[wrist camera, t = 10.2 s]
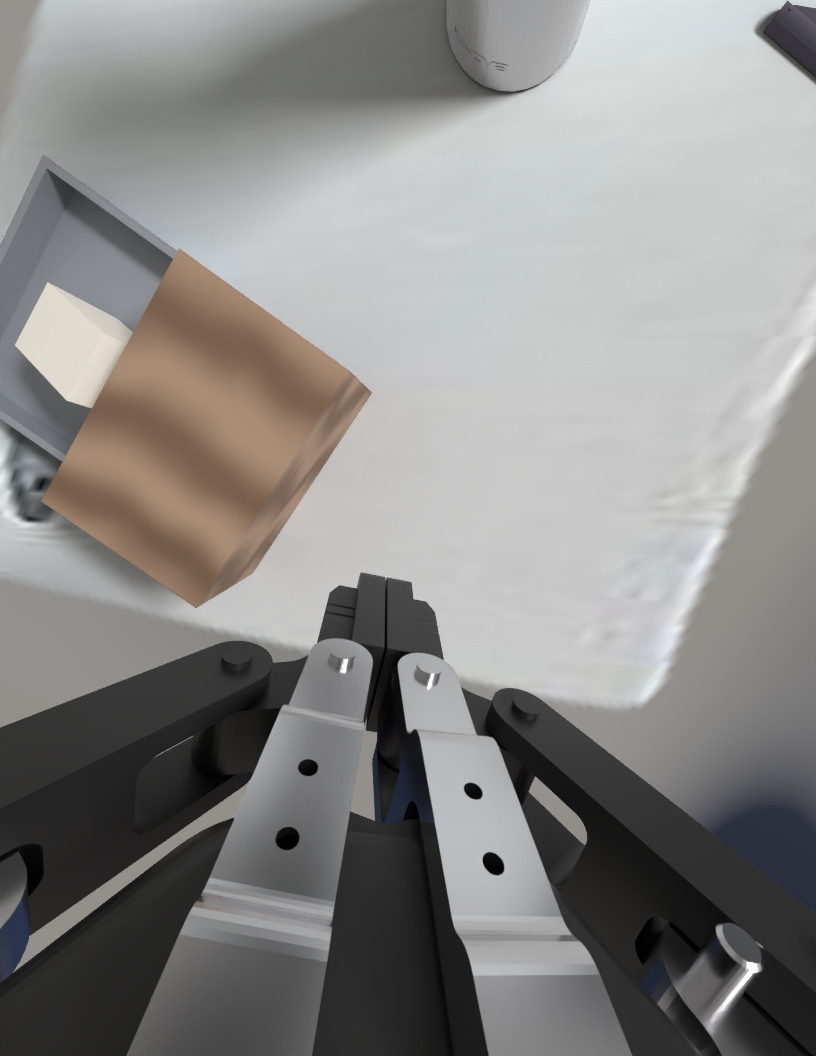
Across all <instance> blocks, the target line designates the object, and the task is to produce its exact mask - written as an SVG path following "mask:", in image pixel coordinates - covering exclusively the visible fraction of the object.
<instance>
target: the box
mask: <svg viewBox="0 0 816 1056" xmlns="http://www.w3.org/2000/svg"><path fill="white" fill-rule="evenodd" d="M176 253H177V251H176V250H175V249H173V248H172V247H171V246H169V245H168V244H166V243H165V242H164V241H162V240H161V239H160V238H158V237H157V236H155V235H154V234H153V233H151V232H150V231H148V230H147V229H146V228H144V227H143V226H141V225H140V224H139V223H137V222H136V221H134V220H133V219H132V218H130V217H129V216H128V215H126V214H125V213H123V212H122V211H121V210H119V209H118V208H116V207H115V206H114V205H112V204H111V203H109V202H108V201H107V200H105V199H104V198H102V197H101V196H100V195H98V194H97V193H96V192H94V191H93V190H91V189H90V188H89V187H87V186H86V185H84V184H83V183H82V182H80V181H79V180H77V179H76V178H75V177H73V176H72V175H70V174H69V173H68V172H66V171H65V170H64V169H62V168H61V167H59V166H58V165H57V164H55V163H54V162H52V161H51V160H50V159H48V158H47V157H45V156H44V155H43V156H42V159H41V161H40V163H39V165H38V167H37V169H36V171H35V173H34V175H33V178H32V180H31V182H30V184H29V186H28V188H27V190H26V192H25V194H24V197H23V199H22V201H21V203H20V205H19V207H18V209H17V211H16V213H15V216H14V218H13V220H12V222H11V224H10V226H9V228H8V230H7V232H6V235H5V237H4V239H3V241H2V243H1V245H0V419H1V420H3V421H4V422H6V423H7V424H9V425H10V426H11V427H13V428H14V429H16V430H17V431H19V432H20V433H22V434H23V435H24V436H26V437H27V438H29V439H30V440H32V441H33V442H34V443H36V444H37V445H39V446H40V447H42V448H43V449H45V450H46V451H47V452H49V453H50V454H52V455H53V456H55V457H56V458H57V459H59V460H60V461H62V462H63V460H64V458H65V456H66V455H67V453H68V451H69V449H70V447H71V445H72V444H73V442H74V440H75V438H76V436H77V434H78V433H79V431H80V429H81V427H82V425H83V423H84V422H85V420H86V418H87V416H88V414H89V412H90V411H91V409H92V408H89V407H85V406H82V405H79V404H76V403H73V402H70V401H66V399H65V398H64V397H63V396H62V395H61V394H60V393H59V392H58V391H57V390H56V389H55V388H54V387H53V386H52V384H51V383H50V382H49V381H48V380H47V379H46V378H45V377H44V376H43V375H42V374H41V373H40V372H39V371H38V369H37V368H36V367H35V366H34V365H33V364H32V363H31V362H30V361H29V360H28V359H27V358H26V357H25V356H24V355H23V353H22V352H21V351H20V350H19V349H18V348H17V347H16V346H15V344H16V342H17V340H18V338H19V336H20V334H21V332H22V330H23V328H24V327H25V325H26V323H27V321H28V319H29V317H30V315H31V313H32V311H33V309H34V307H35V305H36V303H37V302H38V300H39V298H40V296H41V294H42V292H43V290H44V288H45V286H46V284H47V282H49V283H50V284H52V285H54V286H56V287H58V288H60V289H62V290H64V291H66V292H67V293H69V294H71V295H73V296H75V297H77V298H79V299H81V300H83V301H85V302H86V303H88V304H90V305H92V306H94V307H96V308H98V309H100V310H102V311H104V312H105V313H107V314H109V315H111V316H113V317H115V318H117V319H118V320H119V321H121V322H122V323H123V324H124V325H125V326H126V327H127V328H129V329H130V330H131V331H132V332H134V330H135V328H136V326H137V324H138V323H139V321H140V319H141V317H142V315H143V313H144V312H145V310H146V308H147V306H148V304H149V302H150V301H151V299H152V297H153V295H154V293H155V291H156V290H157V288H158V286H159V284H160V282H161V280H162V279H163V277H164V275H165V273H166V271H167V269H168V268H169V266H170V264H171V262H172V260H173V258H174V257H175V255H176Z"/></svg>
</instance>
